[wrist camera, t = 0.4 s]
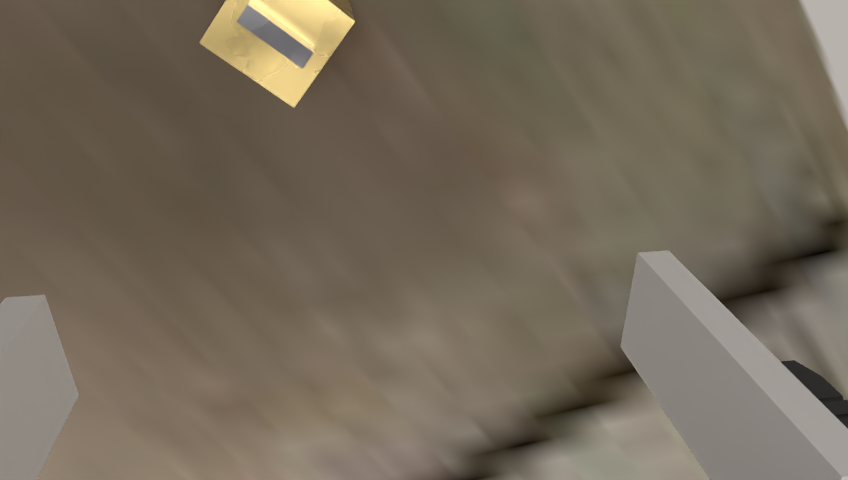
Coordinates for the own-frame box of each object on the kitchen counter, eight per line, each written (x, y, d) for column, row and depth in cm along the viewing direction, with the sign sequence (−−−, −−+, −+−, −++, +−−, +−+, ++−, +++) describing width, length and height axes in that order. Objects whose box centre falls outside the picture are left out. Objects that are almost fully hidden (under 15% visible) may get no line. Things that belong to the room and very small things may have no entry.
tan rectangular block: (222, 16, 31) (193, 48, 24) (272, -62, 30) (256, -52, 23) (299, 70, 33) (292, 116, 26) (348, -1, 32) (356, 26, 25)
